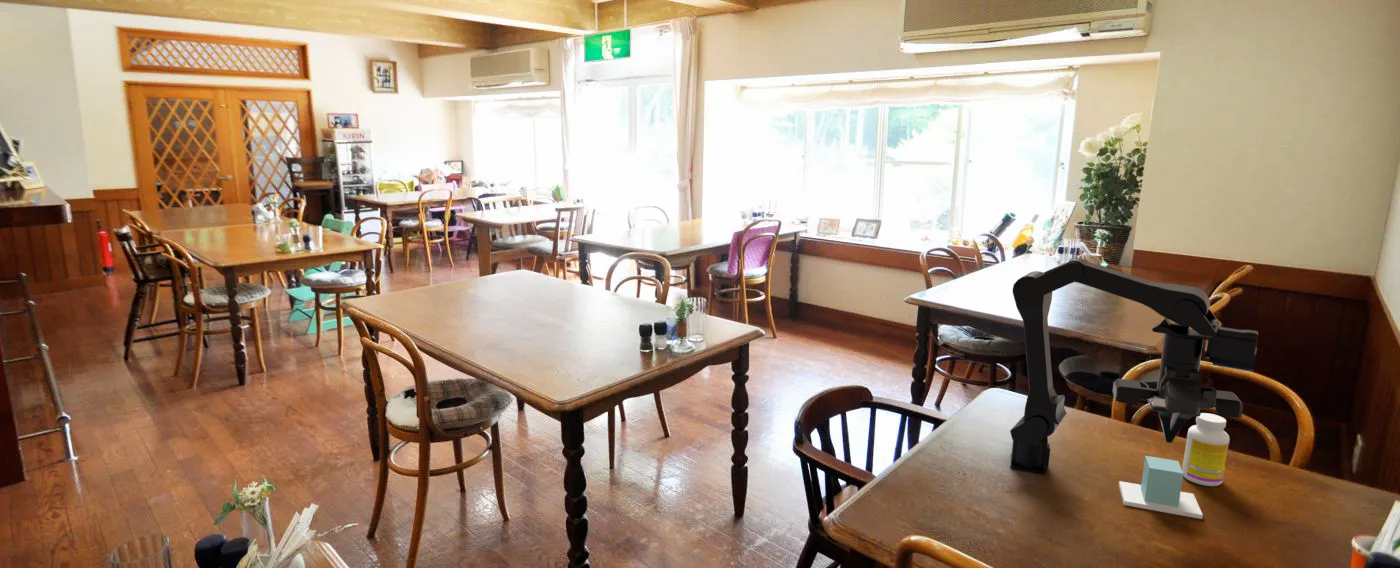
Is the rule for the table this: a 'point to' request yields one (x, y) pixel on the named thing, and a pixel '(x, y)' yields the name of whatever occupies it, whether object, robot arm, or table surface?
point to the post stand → (1135, 498)
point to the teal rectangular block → (1161, 481)
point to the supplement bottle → (1206, 450)
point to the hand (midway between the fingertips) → (1168, 441)
